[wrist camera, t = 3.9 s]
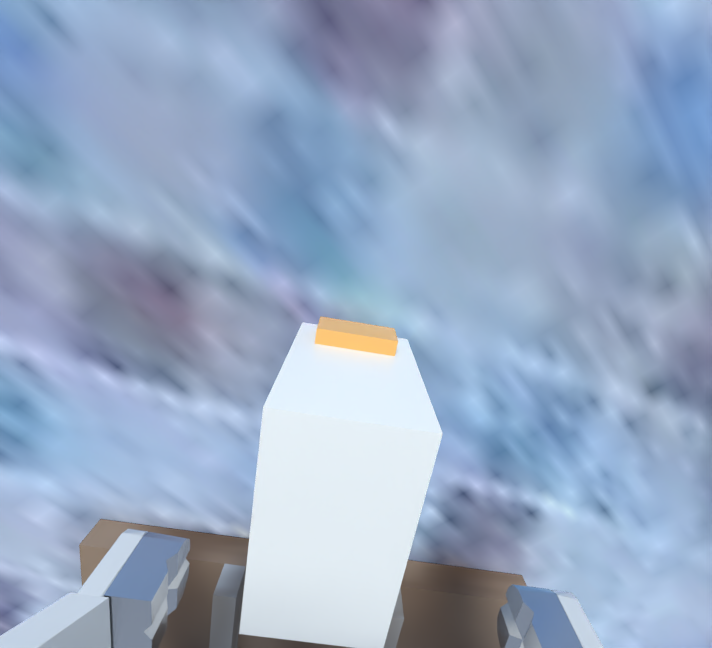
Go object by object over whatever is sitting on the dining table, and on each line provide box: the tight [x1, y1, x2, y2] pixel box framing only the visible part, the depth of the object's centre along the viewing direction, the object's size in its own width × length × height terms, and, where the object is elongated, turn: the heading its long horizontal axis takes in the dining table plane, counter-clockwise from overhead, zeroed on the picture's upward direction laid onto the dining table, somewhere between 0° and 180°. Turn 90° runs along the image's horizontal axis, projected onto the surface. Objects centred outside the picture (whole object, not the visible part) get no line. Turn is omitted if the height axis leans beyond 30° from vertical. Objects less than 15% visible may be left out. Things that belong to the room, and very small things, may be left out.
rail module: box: [239, 317, 443, 648], centre depth 14 cm, size 4×9×7 cm, turn 170°
